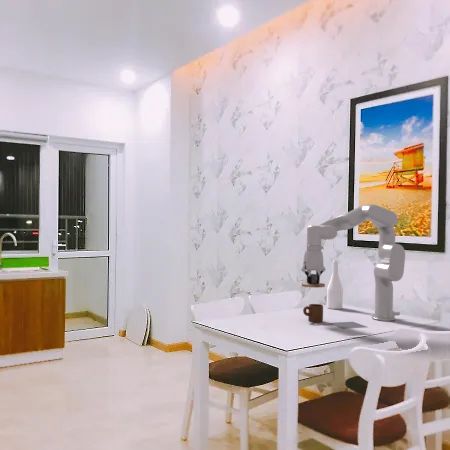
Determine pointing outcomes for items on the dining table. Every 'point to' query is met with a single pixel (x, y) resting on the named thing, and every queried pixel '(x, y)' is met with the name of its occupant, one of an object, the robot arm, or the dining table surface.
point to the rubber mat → (348, 325)
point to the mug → (314, 313)
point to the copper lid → (313, 282)
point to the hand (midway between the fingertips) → (313, 283)
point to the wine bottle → (334, 289)
